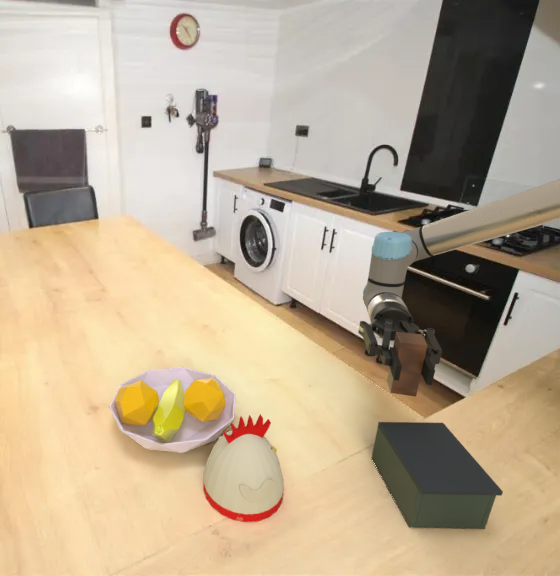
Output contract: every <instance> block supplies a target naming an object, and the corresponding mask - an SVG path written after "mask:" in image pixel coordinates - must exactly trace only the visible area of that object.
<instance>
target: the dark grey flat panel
mask: <svg viewBox="0 0 560 576" xmlns="http://www.w3.org/2000/svg"><path fill="white" fill-rule="evenodd" d="M378 426H379V428H380V430H381V431H382V433H383V434H384V436H385V437H386V439H387V441H388V442H389V444H390V445H391V447H392V448H393V450H394V452H395V453H396V455H397V456H398V458H399V459H400V461H401V463H402V464H403V466H404V467H405V469H406V470H407V472H408V474H409V475H410V477H411V478H412V480H413V481H414V483H415V484H416V486H417V488H418V489H419V491H420V492H421V494H446V495H496V496H503V492H504V491H503V490H502V489H501V488H500V487H499V485H498V484H497V483H496V482H495V481H494V480H493V479H492V477H491V476H490V475H489V474H488V473H487V472H486V470H485V469H484V468H483V467H482V465H480V464H479V462H478V461H477V460H476V459H475V457H474V456H472V454H471V453H470V452H469V451H468V450H467V448H466V447H465V446H464V445H463V444H462V442H460V440H459V439H458V438H457V437H456V436H455V434H453V432H452V431H451V430H450V429H449V428H448V426H446V424H445V423H444V422H421V421H420V422H415V421H413V422H410V421H397V422H396V421H378V422H377V427H378Z"/></svg>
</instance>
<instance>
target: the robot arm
mask: <svg viewBox="0 0 560 576" xmlns="http://www.w3.org/2000/svg"><path fill="white" fill-rule="evenodd" d="M558 221H560V178H559V179H556V180H553V181H550V182H547V183H545V184H541V185H538V186H536V187H533V188H530V189H527V190H524V191H521V192H518V193H514V194H511V195H509V196H506V197H503V198H500V199H497V200H495V201H491V202H489V203H486V204H483V205H480V206H477V207H475V208H471V209H468V210H466V211H465V210H464V211H463V212H460V213H457V214H453V215H450V216H448V217H445V218H441V219H439V220H435V221H433V222H430V223H427V224H424V225H422V226H418V227H415V228H413V229H406V230H403V231H400V232H399V231H381V232H378V233H376V235H375V236H374V239H373V244H372V246H371V254H370V255H371V256H370V262H369V268H368V269H369V270H368V277H367V282H366V284H365V286H364V288H363V290H362V300H363V303H364V306H365V308H366V312H367V315H368V317H369V318H368V319H369V321H370V323H368V322H367V321H365V320H360V321H359V325H358V332H357V333H358V334H359V335H360V336H361V337H362V339H363V341H364V345H365V348H366V350H367V353H368V355H369V356H372V357H375V356H379V359H378V361H379V362H380V363H382V364H383V365H384V366H387V367H388V368H389V367H390V370H391V373H392V376H393V379H394V380H397V381H399V378H400V373H401V368H402V365H401V363H400V360H399V358H398V355H397V353H396V350H395V348H394V347H393V346H390V344H391V341H393V342H394V340H395V335H396V332H404V333H413V334H422V336H423V338H424V340H425V341H426V343H427V350H426V354H425V359H424V363H423V368H422V372H421V376H422V378H423V381H424V382H425V385H427V386H433V381H434V378H435V373H436V366H437V365H439V364H440V363H441V358H442V353H443V349H442V347H441V346H440V343H439V342H438V340H437V338H436V336H435V331H436V329H435V328H432V327H427V329H420V328H419V326H418V325H416V324H415V323H414V319H413V316H412V314H411V312H410V311H409V309H408V307H407V305H406V303H405V302H404V300H403V292H404V287H405V283H406V282H405V281H406V276H407V271H408V267H410V266H411V265H412V264H413V263H415V262H418V261H420V260H425V259H428V258H430V257H434V256H436V255H441V254H444V253H447V252H451V251H455V250H458V249H461V248H465V247H469V246H472V245H475V244H479V243H482V242H486V241H490V240H493V239H497V238H501V237H504V236H508V235H511V234H515V233H518V232H522V231H525V230H528V229H532V228H536V227H540V226H543V225H547V224H550V223H555V222H558ZM375 334H376V335H377V336H378V337H379V338H380V339H382V341H381V344H378V340H377V337H376V335H375Z"/></svg>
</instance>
